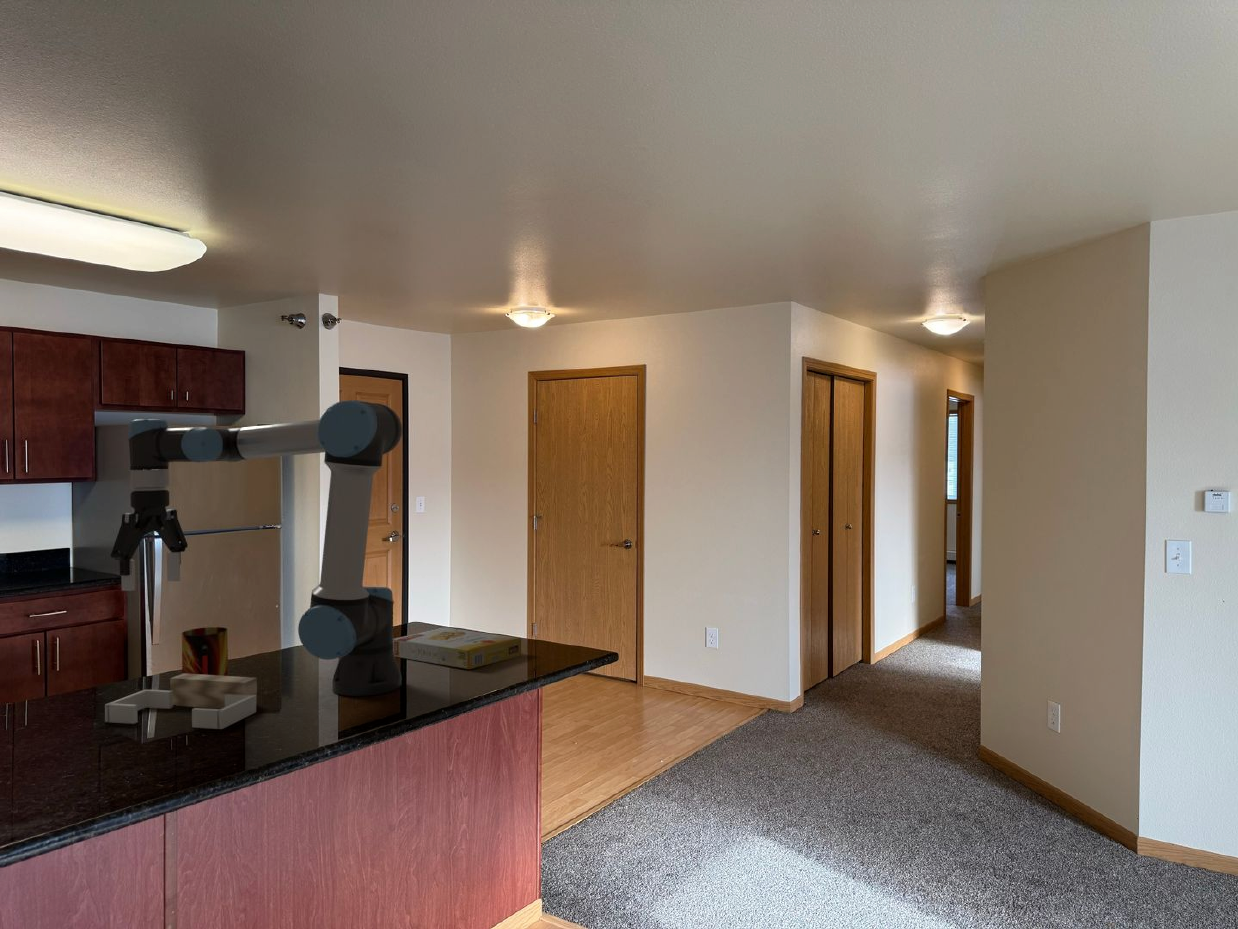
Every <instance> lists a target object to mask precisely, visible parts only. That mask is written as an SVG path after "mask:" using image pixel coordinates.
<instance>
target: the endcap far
mask: <svg viewBox="0 0 1238 929" xmlns="http://www.w3.org/2000/svg"><path fill="white" fill-rule="evenodd" d="M173 707H174V705H173V691H171V690H166V689H165V690H164V689H163V690H162V689H148V688H147V689H142V690H140V691H138V692H135V693H132V694H129V695H127V696H125V697H122V698H119V699H117V700H114V701H111V702H108V703H105V704H104V722H105V723H115V724H117V723H118V724H130V725H135V724H136V723H138V711H141V710H144V709H147V708H151V709H153V708H154V709H167V710H168V709H172V708H173Z"/></svg>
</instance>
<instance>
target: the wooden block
mask: <svg viewBox="0 0 1238 929" xmlns="http://www.w3.org/2000/svg"><path fill="white" fill-rule="evenodd" d="M257 680H258V679H257V677H249V676H232V675H231V676H230V675H228V676H219V675H202V674H186V673H184V674H182V673H181V674H178V675H175V676H173V677H170V682H169V683H170V684H169V685H170V691H173V706H174V705H176V706H175V707H189V708H191V707H192V708H205V709H222V708H225V695H226V694H244V695H256V706H257V705H258V683H257V682H258V681H257Z"/></svg>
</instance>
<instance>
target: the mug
mask: <svg viewBox="0 0 1238 929" xmlns="http://www.w3.org/2000/svg"><path fill="white" fill-rule="evenodd" d="M228 635H229V634H228V628H227V627H222V626H210V627H208V626H207V627H198V628H191V629H188V630H185V631H183V632H181V664H182V665H181V669H182V670H181V671H182V672H181V674H184V673H186V674H202V675H219V676H229V660H228V659H229V657H228V656H229V654H228V653H229V652H228V651H229V646H228V645H229V644H228V641H229V640H228Z"/></svg>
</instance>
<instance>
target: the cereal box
mask: <svg viewBox="0 0 1238 929" xmlns="http://www.w3.org/2000/svg"><path fill="white" fill-rule="evenodd" d="M393 652H394V655H395V658H401V659H408V660H413V661H417V662H425V663H431V664H436V665H442V666H450V667H454V668H461V669H466V670H472V669H475V668H479V667H483V666H488V665H491V664H495V663H499V662H503V661H507V660H511V659H513V658H517V657H519V656H521V655H522V638H521V637H513V636H508V635H501V634H500V635H499V634H493V633H485V632H478V631H472V630H466V629H465V630H464V629H458V628H451V627H448V626H445V627H440V628H436V629H431V630H426V631H423V632H418V633H414V634H408V635H405V636H401V637H400V636H399V637H396V638H393Z"/></svg>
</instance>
